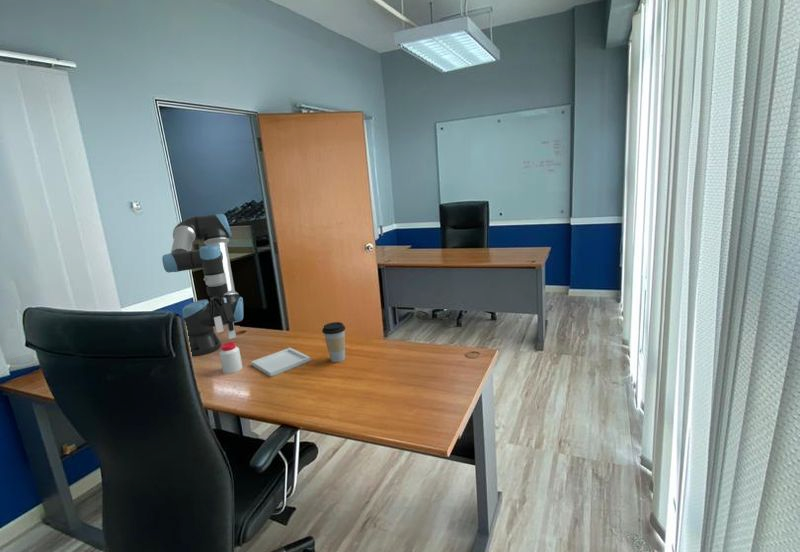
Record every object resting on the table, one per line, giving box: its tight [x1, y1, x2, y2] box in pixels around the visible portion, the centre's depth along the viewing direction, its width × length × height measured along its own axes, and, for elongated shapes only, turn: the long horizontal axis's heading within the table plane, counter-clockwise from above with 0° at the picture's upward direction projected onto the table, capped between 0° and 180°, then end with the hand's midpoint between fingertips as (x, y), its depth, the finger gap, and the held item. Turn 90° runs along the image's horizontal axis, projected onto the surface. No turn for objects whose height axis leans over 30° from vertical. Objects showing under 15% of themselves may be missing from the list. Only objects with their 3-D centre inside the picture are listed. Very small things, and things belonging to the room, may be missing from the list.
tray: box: [250, 347, 312, 378], centre depth 178 cm, size 18×18×2 cm
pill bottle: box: [219, 341, 243, 375], centre depth 176 cm, size 8×8×11 cm
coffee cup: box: [322, 321, 346, 363], centre depth 175 cm, size 9×9×15 cm
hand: (226, 334), depth 173 cm, fingers open, 13 cm apart
